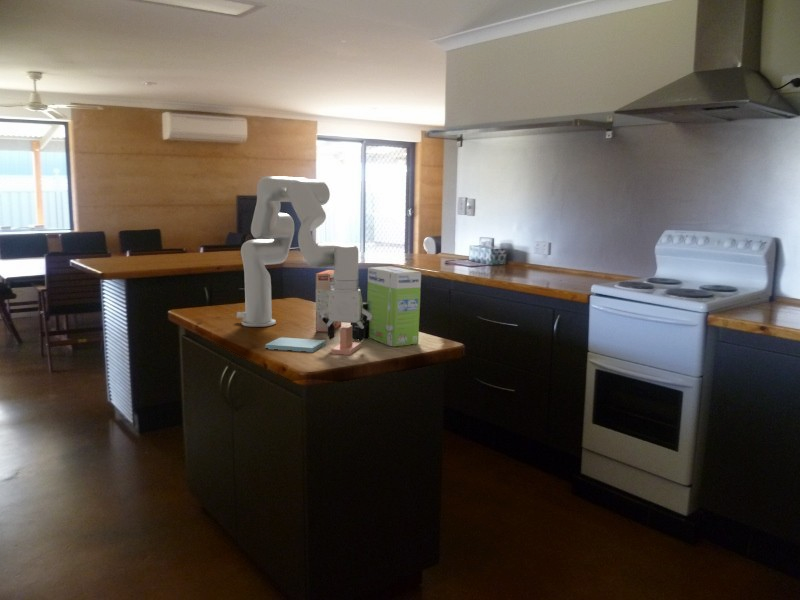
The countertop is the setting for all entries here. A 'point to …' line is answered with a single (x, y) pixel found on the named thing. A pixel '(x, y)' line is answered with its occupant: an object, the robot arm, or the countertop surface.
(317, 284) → the cracker box
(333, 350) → the stub
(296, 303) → the countertop surface
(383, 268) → the toothbrush box
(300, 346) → the light blue flat slab
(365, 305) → the supplement bottle
